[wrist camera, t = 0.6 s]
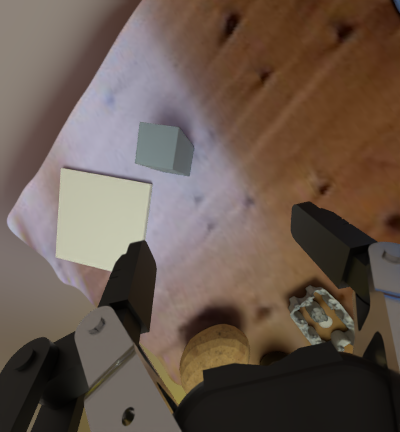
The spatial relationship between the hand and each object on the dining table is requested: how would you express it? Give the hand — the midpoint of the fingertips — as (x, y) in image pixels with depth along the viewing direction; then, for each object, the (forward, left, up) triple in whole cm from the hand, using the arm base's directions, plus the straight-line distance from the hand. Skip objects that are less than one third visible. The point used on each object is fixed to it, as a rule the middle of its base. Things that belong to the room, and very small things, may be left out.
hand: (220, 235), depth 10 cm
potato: (+26, +3, -23) cm, 35 cm away
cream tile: (+8, -23, -23) cm, 33 cm away
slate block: (-6, -10, -23) cm, 26 cm away
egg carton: (+16, +19, -23) cm, 34 cm away
